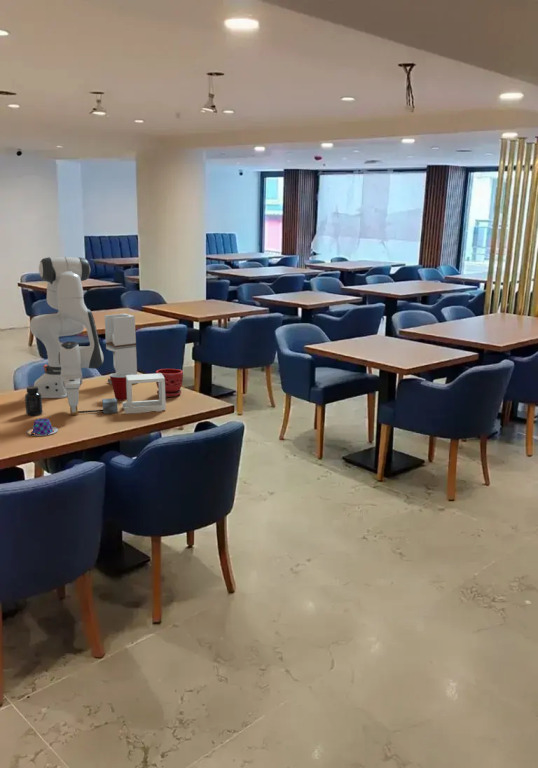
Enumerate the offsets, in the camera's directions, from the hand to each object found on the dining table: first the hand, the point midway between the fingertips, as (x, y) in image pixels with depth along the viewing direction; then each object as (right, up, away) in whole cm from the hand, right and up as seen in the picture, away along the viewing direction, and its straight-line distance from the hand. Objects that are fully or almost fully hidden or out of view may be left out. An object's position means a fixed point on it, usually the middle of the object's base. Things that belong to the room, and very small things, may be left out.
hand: (73, 410), depth 302 cm
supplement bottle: (-17, -2, 0) cm, 17 cm away
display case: (+10, +12, +55) cm, 57 cm away
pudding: (-6, -8, -23) cm, 25 cm away
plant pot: (+37, +6, +34) cm, 51 cm away
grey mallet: (+8, -1, +3) cm, 9 cm away
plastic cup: (+16, +5, +26) cm, 31 cm away
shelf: (+29, 0, +9) cm, 31 cm away
